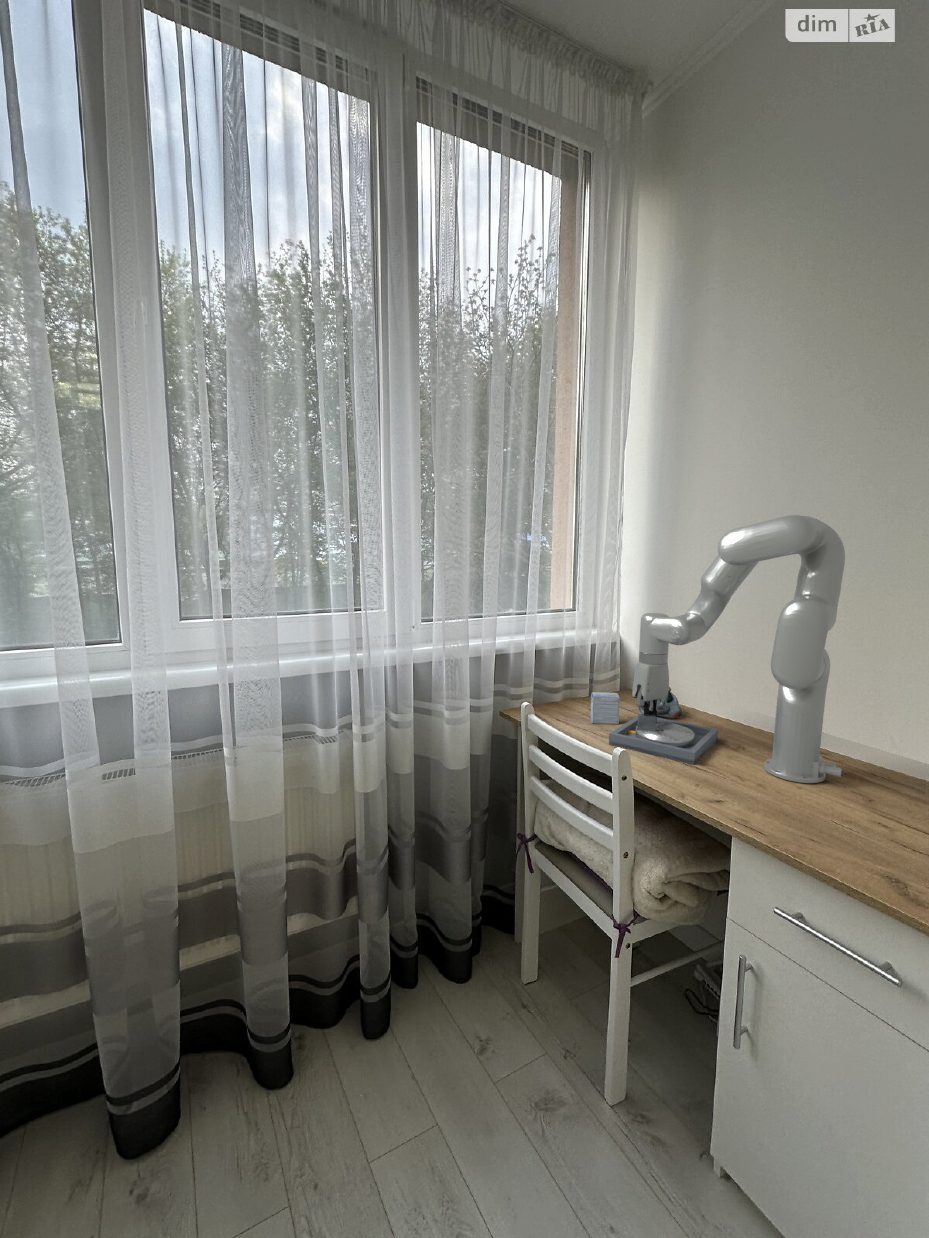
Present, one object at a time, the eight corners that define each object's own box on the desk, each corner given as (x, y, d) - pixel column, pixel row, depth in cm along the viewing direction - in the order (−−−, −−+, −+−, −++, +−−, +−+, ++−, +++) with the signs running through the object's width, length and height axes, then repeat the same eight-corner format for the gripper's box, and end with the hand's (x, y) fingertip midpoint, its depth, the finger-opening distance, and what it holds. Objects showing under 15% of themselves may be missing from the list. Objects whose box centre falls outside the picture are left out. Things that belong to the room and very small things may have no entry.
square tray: (717, 739, 155) (718, 729, 154) (693, 764, 138) (694, 753, 137) (639, 723, 168) (640, 714, 168) (608, 744, 151) (609, 733, 151)
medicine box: (616, 720, 172) (617, 692, 170) (618, 724, 167) (620, 696, 166) (590, 719, 172) (591, 691, 171) (591, 723, 168) (592, 695, 167)
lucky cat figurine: (690, 719, 172) (682, 684, 166) (654, 734, 172) (644, 700, 166) (667, 693, 186) (658, 660, 179) (633, 707, 186) (623, 674, 180)
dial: (687, 730, 159) (688, 709, 158) (700, 749, 144) (701, 726, 143) (632, 726, 161) (633, 706, 160) (639, 745, 147) (640, 723, 146)
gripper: (659, 653, 161) (656, 715, 163) (623, 659, 153) (620, 724, 155) (682, 657, 154) (678, 722, 157) (645, 664, 146) (642, 731, 149)
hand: (649, 723), depth 156 cm, fingers closed
